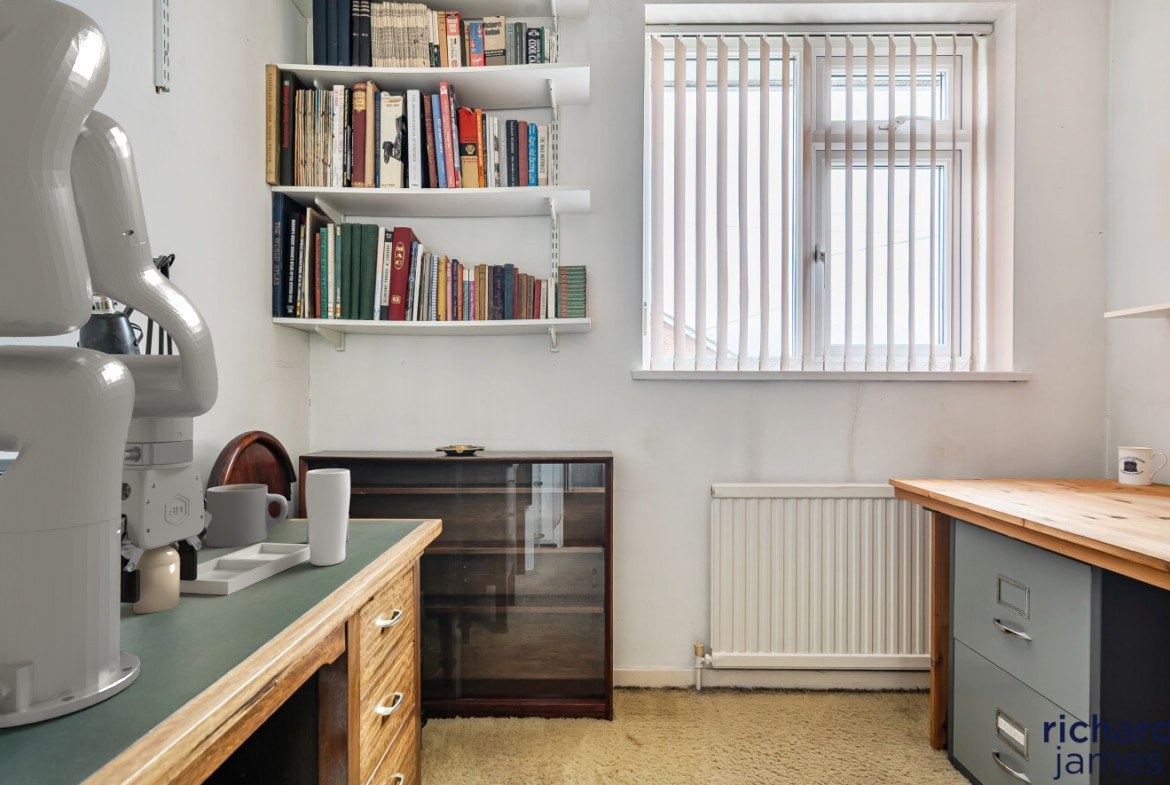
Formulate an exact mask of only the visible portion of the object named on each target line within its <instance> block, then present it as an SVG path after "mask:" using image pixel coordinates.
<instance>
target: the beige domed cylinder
mask: <svg viewBox="0 0 1170 785" xmlns="http://www.w3.org/2000/svg"><path fill="white" fill-rule="evenodd" d="M176 550H177V549H175V548H174V547H173V546H171V545H170V544H168V545H164V546H161V547H157V548H153V549H144V551H143V553H142V555H141V557H140V559H139V561H138V563H137V565H136V567H135V569H140V600H139V601H138V602H136V603H133V612H134V613H136V614H153V613H158V612H164V611H167V610H170V609H174V608H177V606H179V605H180V603H181V602H180V597H181V596H180V593H181V592H180V557H179V554H178V552H177V551H176Z"/></svg>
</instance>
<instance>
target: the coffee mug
mask: <svg viewBox="0 0 1170 785" xmlns="http://www.w3.org/2000/svg"><path fill="white" fill-rule="evenodd" d="M268 488H269V487H268V485H267V484H263V483H262V484H261V483H240V484H239V483H238V484H228V485H225V484H224V485H219V486H213V487H209V488H207V489H206V501H205V502H206V510H205V511H207V512H208V513H210V514H211V515H212V519H211V521H210V523H209V525H208V527H207V528H206V530H207V532H206V534H205V544H206V546H208V547H213V548H214V547H215V548H232V547H239V546H241V547H242V546H249V545H255V544H259V543H262V542H263V541H266V540H267V539H268V533H269V531H270V529H271V528H273V527H275V526H278V525H280V524H282V523H283V522H284V521H285V519H286V518H287V515H288V513H289V512H288V511H289V503H288V500H287V499H286V497H285V496H283V495H281V494H277V493H268ZM272 502H277V503H278V504H279V506H280V513H279V514H278V516H276V517H273V516H271V515H270V512H269V508H270V507H269V506H270V504H271V503H272Z"/></svg>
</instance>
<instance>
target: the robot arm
mask: <svg viewBox="0 0 1170 785" xmlns="http://www.w3.org/2000/svg"><path fill="white" fill-rule="evenodd" d="M110 72H111V55H110V50H109V45H108V41H107V39H106V36H105V34H104V32H103V30H102V28H101V27H100V26H99V24H98V23H97V22H96V21H95V19H93V18H92V17H91V16H89V15H88V14H87V13H85V12H84V11H82V10H81V9H79V8H76V7H74V6H72V5H70V4H67V3H65V2H62V1H59V0H0V338H38V337H41V338H42V337H44V338H45V337H56V336H62V335H68V334H71V333H74V332H76V331H77V330H80V329H82V328H83V327H84V326H85V325H87V323H88V322H89V320H90V319H91V316H92V313H93V306H94V305H93V304H94V296H93V294H94V293H95V294H97V295H99V296H103V297H105V298H107V299H109V300H112V301H114V302H117V303H119V304H121V305H124V306H126V307H128V308H130V309H132V310H135V311H137V312H139V313H141V314H143V315H144V316H146V317H147V318H149V319H150V320H151V321H153V322H155V323H156V324H157V325H158V326H160V328H162V329H163V330H164V331H165V332H166V333H167V334H168V336H170V338H171V339H172V341H173V342H174V344H175V346H176V348H177V352H178V354H139V353H138V354H122V353H121V354H120V353H119V354H117V353H114V354H113V353H112V354H111V353H110V354H109V353H106V352H103V351H101V350H100V351H99V350H95V349H91V348H85V347H81V346H80V347H78V346H68V345H67V346H66V345H65V346H63V345H33V344H30V345H28V344H4V345H0V452H6V453H13V452H14V453H18V454H17V456H16V457H15V459H14V460H13V461H12V462H11V464H10V465H9V466H8V467H7V468H6V469H5V471H3V473H2V474H1V475H0V729H2V728H3V729H4V728H11V727H19V726H23V725H28V724H33V723H34V724H35V723H39V722H43V721H47V720H51V719H55V718H58V717H61V716H64V715H65V716H66V715H67V714H72V713H74V712H78V711H80V710H82V709H85V708H89V707H91V706H93V705H95V704H98V703H101V702H102V701H105V700H107V699H109V698H110V697H113V696H115V695H117V694H118V693H120V692H122V691H124V689H126V688H127V687H129V686H130V684H132V683H133V682H134V681H135V680H137V678H138V676H140V673H141V672H140V671H141V660H140V657H138V656H137V655H136V654H134V653H131V652H129V651H122V650H121V604H134V603H136V602H138V601H139V600H140V569H135V567H136V565H137V563H138V561H139V559H140V557H141V555H142V553H143V551H144V549H153V548H157V547H161V546H164V545H171V544H174V545H175V547H177V549H175V550H176V551H177V552H178V554H179V557H180V580H184V581H193V580H196V579H197V565H198V550H200V549H201V548H202V541H203V539H204V537H206V532H207V530H206V528H207V527H208V525H209V523H210V521H211V519H212V515H211V514H210V513H208V512H207V511H206V510H205V503H204V492H203V491H204V490H203V483H202V477H201V473H200V468H199V465H198V463H197V462H194V418H196V417H200V416H202V415H205V414H207V413H208V412H210V411H211V410H212V409H213V407H214V406H215V404H216V401H217V399H218V394H219V377H218V375H219V374H218V368H217V360H216V355H215V348H214V342H213V339H212V338H213V337H212V334H211V331H210V328H209V326H208V324H207V322H206V320H205V318H204V317H203V315H202V313H201V312H200V311H199V309H198V308H197V307H196V305H195V304H194V303H193V302H192V300H191V299H190V298H189V297H188V295H187V294H185V293H184V292H183V290H181V289H180V288H179V287H178V286H177V285H176V284H175V283H174V282H172V281H171V280H170V279H169V278H168V277H167V276H165V275H164V274H163V273H162V272H161V271H160V270H159V269H158V267H157V265H156V264H155V263H154V262H155V261H154V259H153V254H152V249H151V248H152V247H151V242H150V238H149V233H148V228H147V222H146V216H145V211H144V210H145V209H144V205H143V200H142V194H141V189H140V185H139V178H138V174H137V173H138V172H137V168H136V163H135V157H134V152H133V147H132V144H131V140H130V137H129V136H128V134H127V132H126V130H125V129H124V128H123V127H122V126H121V124H120V122H118V121H116V120H115V119H113V118H112V117H110V116H108V115H107V114H104V113H102V112H101V111H98V110H95V109H94V108H95V106H96V105H97V103H98V102H99V101H100V99H101V97H102V96H103V94H104V92H105V90H106V88H107V85H108V82H109V77H110ZM128 552H130V553H128ZM127 553H128V555H127ZM126 555H127V558H126Z"/></svg>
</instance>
